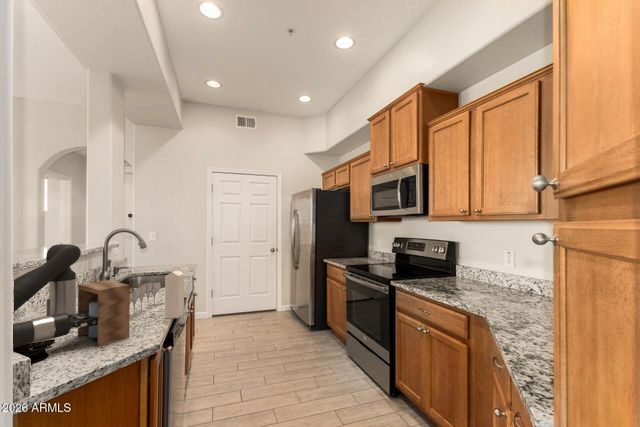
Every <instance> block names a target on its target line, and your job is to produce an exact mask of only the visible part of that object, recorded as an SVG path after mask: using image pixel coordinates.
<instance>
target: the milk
mask: <svg viewBox="0 0 640 427" xmlns="http://www.w3.org/2000/svg"><path fill="white" fill-rule="evenodd" d="M164 281H165V282H164V288H165V289H164V292H165V293H164V294H165V296H164V298H165V300H164V305H165V306H164V309H165V310H164V311H165V312H164V319H179V318H181V317H182V316H184V314H185V273H183V272H182V271H180V270H179V267H178V266H176V267H173V268H171V272H170V273H168V274H167V275H165V277H164Z"/></svg>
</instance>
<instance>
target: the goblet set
mask: <svg viewBox="0 0 640 427" xmlns="http://www.w3.org/2000/svg"><path fill="white" fill-rule="evenodd" d="M160 290H161V283H160V281H158V280H157V281H156V280H155V281H146V282H144V283H140V284H139V283H138V284H137V286H136V285H135V286H130V304H131V303H132V306H133V314H129V322H130V321H132V320H133V318H137V317H139V314H143V313H142V312H144V313H146V312H145V311H146V310H143V307H142V306H143V300H144V297H145V295H146V297H147V303H149V302H150V301H149V299H150V294H152V296H153V304H150V305H149V306H147V307H145V309H149V310H151V309H153V307H150V306H154V307H158V306H160V304H158V303H155V299H156V294H157V293H158V292H159V291H160ZM138 300H140V311H137V312H135V308H136V303H137V301H138ZM135 313H136V314H135Z"/></svg>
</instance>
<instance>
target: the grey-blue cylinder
mask: <svg viewBox="0 0 640 427" xmlns="http://www.w3.org/2000/svg"><path fill="white" fill-rule="evenodd" d="M89 315H91V316H97V315H98V301H94V302H90V303H89ZM93 321H95V320H93ZM88 338H91V339H92V338H93V339H95V338H98V325H94V326H91V327H89V334H88Z"/></svg>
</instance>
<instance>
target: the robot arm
mask: <svg viewBox="0 0 640 427" xmlns="http://www.w3.org/2000/svg"><path fill="white" fill-rule="evenodd" d="M81 251H82V250H81V248H80V247H79V246H77V245H74V244H61V243H59V244H57V243H56V244H53V245H52V246H50V247H49V248H48V250H47V252H46V256H45V258H46V259H45V261H46V262H45V263H43V264H41V265H40V266H37V267H36V268H33V269H31V270H29V271H28V272H26V273H23V274H22V275H20V276H18V277H16V278H14V279H13V280H14V312H13V313H15V312H16V311H17V310H19V309H20V307H22V306H23V305H25V304H26V303H27V302H28V301H30V300H31V299H32V298H33V297H34V296H35V295H36V294H37V293H39V291H41V290H42V289H43V288H44V287H45V286H47V284H48V286H49V287H48V288H49V289H48V298H47V299H46V315H45V316H42V317H38V318H35V319H31V320H26V321H23V322H18V323H12V324H13V344H14V347H13V348H16V347H21V346H24V345H28V344H33V343H39V342H44V341H48V340H53V339H56V338H59V337H63V336H67V335H69V334H70V332H71V331H70V330H71V329H73V328H75V329H78V328H80V329H84V328H87V327H91V326H94V325H98V315H97V316H91V315H89V312H88V313H87V312H82V313H78V312H77V310H76V309H77V308H76V307H77V305H76V304H77V273H76V272H75V271H74V270H73V269H72V268H71V266H73V265H74V264H75V263H76V262H78V260H79V259H80V257H81V254H82V252H81ZM76 312H77V313H76ZM93 320H95V321H93Z"/></svg>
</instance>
